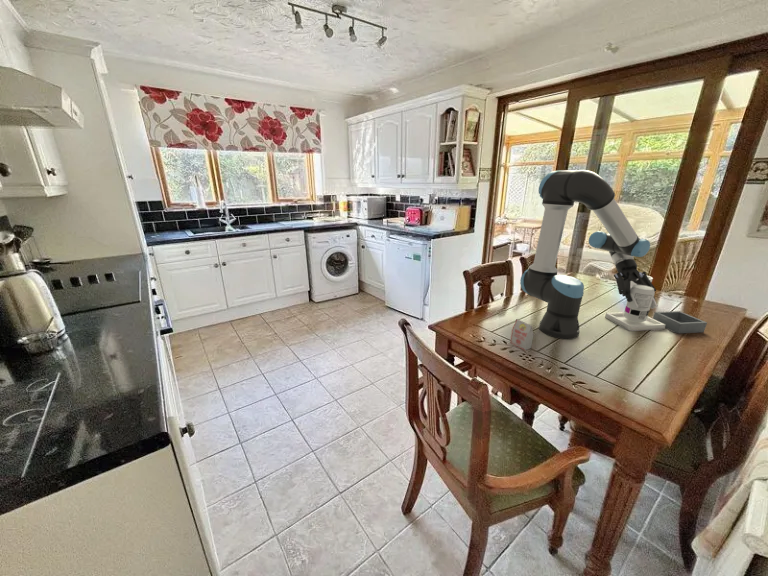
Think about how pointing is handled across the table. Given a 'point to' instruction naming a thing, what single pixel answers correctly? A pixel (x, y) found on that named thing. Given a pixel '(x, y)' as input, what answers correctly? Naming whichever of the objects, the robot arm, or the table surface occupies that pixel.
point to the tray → (632, 325)
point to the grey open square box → (680, 322)
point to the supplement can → (640, 303)
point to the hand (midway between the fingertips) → (645, 308)
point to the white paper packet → (522, 335)
